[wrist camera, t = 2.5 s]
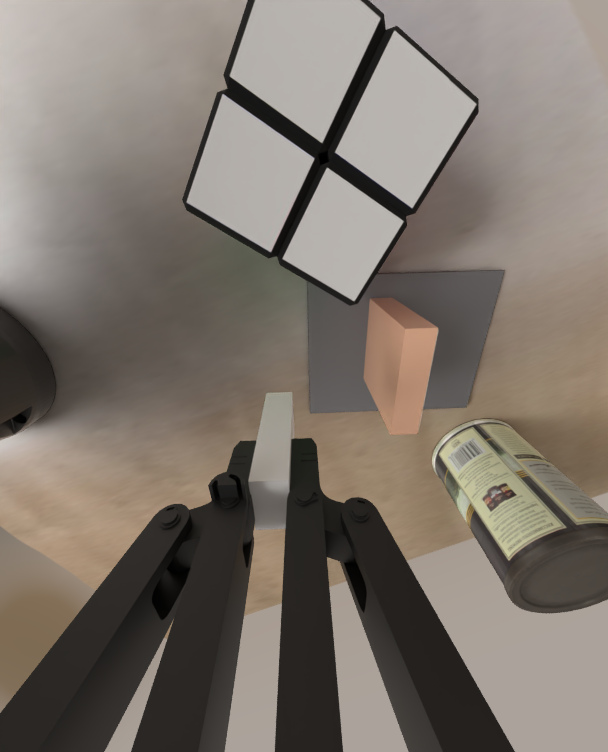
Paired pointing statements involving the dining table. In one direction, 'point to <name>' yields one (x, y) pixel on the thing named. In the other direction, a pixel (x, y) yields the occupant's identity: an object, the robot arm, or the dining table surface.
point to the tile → (398, 363)
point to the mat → (424, 297)
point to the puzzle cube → (325, 139)
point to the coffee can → (526, 517)
